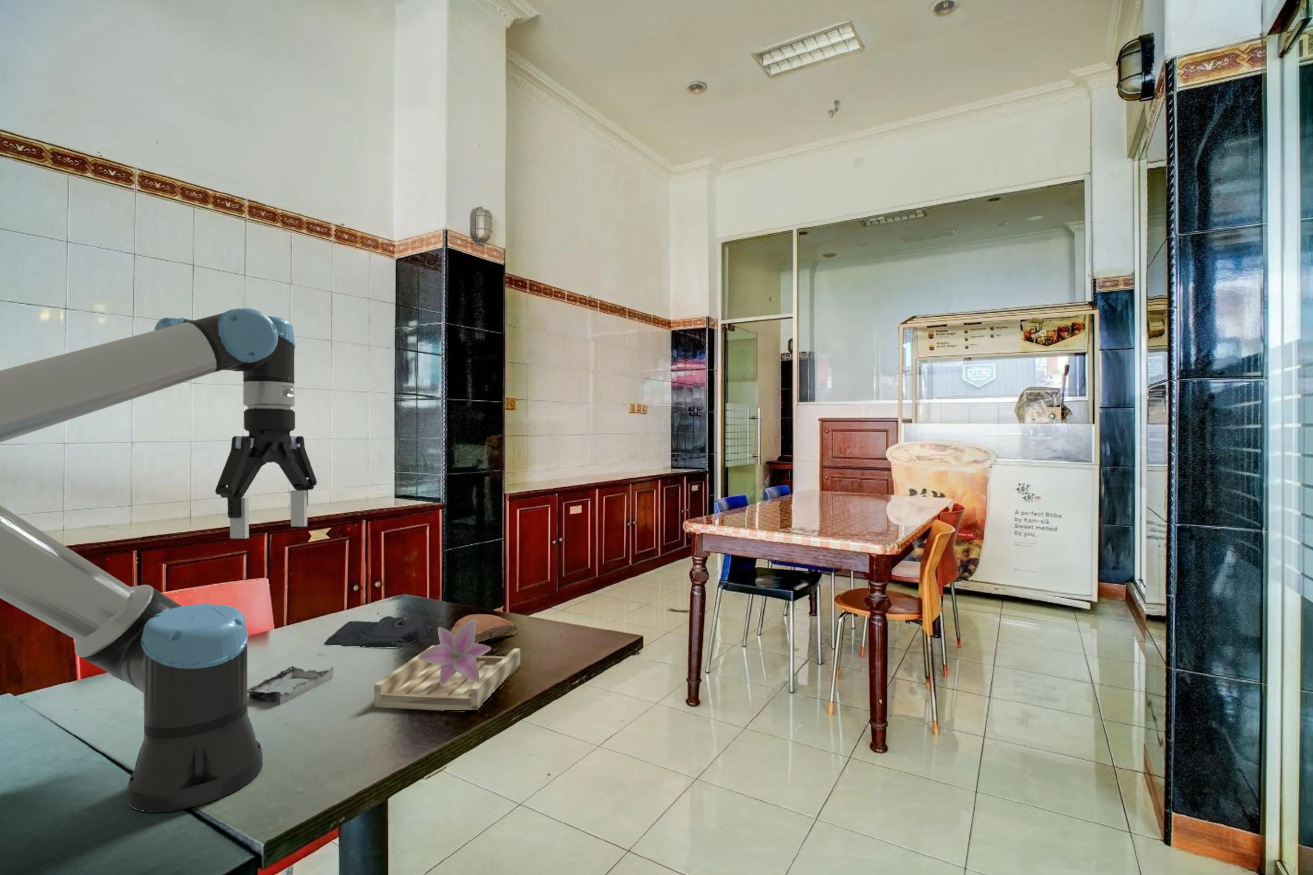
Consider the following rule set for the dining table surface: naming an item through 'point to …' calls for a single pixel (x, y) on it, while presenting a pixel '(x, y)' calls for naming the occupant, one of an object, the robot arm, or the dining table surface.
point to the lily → (456, 653)
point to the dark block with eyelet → (380, 632)
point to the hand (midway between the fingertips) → (271, 532)
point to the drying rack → (423, 690)
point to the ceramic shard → (486, 626)
